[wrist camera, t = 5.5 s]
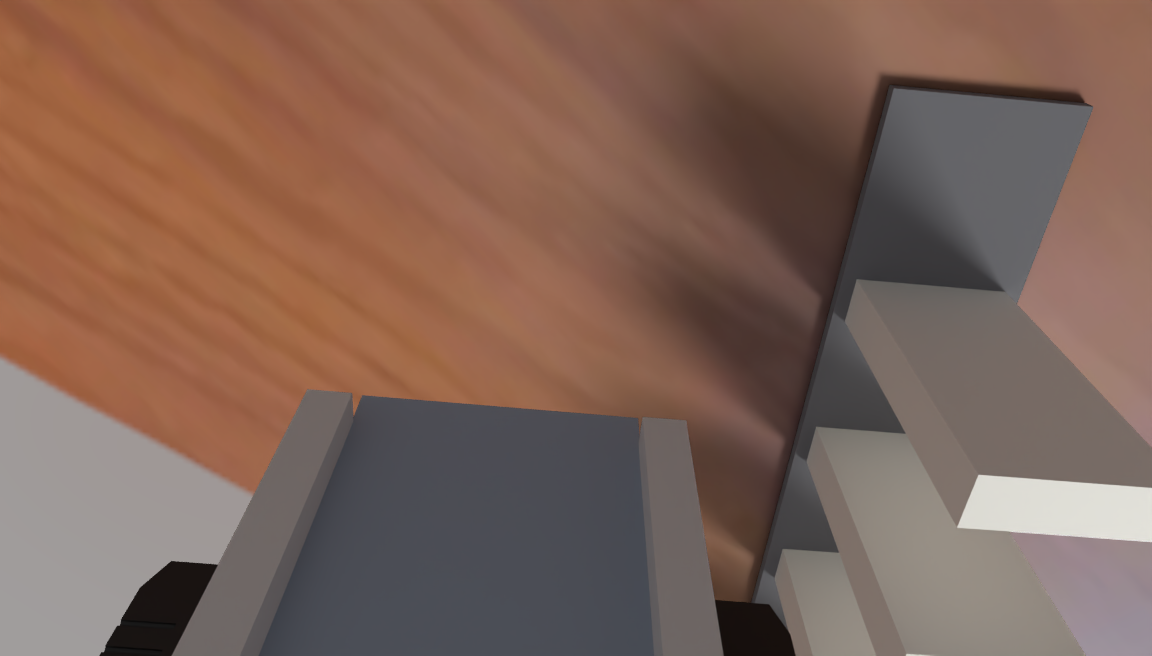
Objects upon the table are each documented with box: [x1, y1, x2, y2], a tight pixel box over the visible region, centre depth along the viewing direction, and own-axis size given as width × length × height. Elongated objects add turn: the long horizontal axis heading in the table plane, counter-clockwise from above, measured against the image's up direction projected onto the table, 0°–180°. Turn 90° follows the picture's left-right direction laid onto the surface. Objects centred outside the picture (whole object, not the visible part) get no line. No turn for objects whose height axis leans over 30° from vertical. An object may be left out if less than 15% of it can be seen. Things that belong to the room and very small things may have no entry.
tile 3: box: [807, 427, 1086, 656], centre depth 27 cm, size 2×5×10 cm, turn 85°
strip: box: [751, 85, 1093, 630], centre depth 32 cm, size 26×6×1 cm, turn 175°
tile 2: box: [845, 279, 1152, 542], centre depth 24 cm, size 2×5×10 cm, turn 85°
